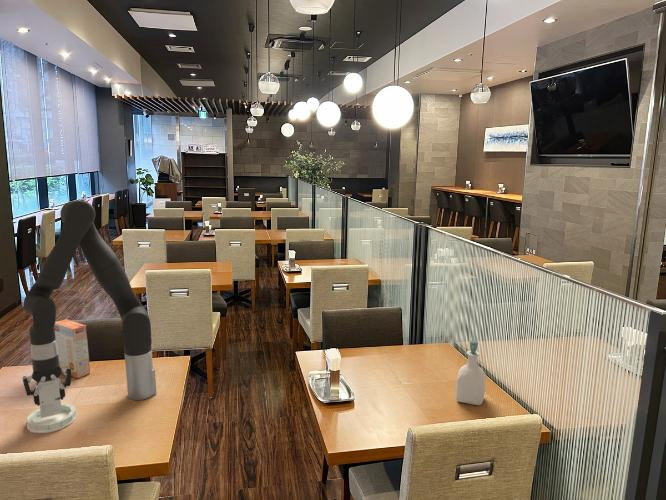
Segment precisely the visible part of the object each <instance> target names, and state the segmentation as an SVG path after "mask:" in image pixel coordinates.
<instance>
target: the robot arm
mask: <svg viewBox="0 0 666 500" xmlns="http://www.w3.org/2000/svg"><path fill="white" fill-rule="evenodd" d="M59 216H60V219H61V221H62V223H63V224H62V225H63V226H62V230H61V232H60V235H59V236H58V239H57V241H56V242H55V244H54V246H53V247H52V249H51V250H50V252H49V253H48V255H47V257H46V258H45V261H44V262H43V264H42V268H41V269H40V272H39V275H38V277H37V280H36V281H35V282H34V283H33V284H32V286H31V288H30V289H29V290H28V292H27V293H26V295H25V297H24V300H23V303H22V307H23V310H24V311H25V312H26V313H27V314H28V315H30V316H32V324H31V326H30V327H29V332H28V333H29V340H30V356H31V364H32V365H31V366H32V374H30V375H29V376H26V375H25V376H23V377H22V379H21V380H22V383H23V386H24V389H25V393H26V396H28V397H29V396H32V397H33V403H34V405H35V406H38V407H40V402H39V390H38V389H41V387H42V385H43V383H44V382H45V381H49V380H57V379H59V389H60V401H62V400H64V398H66V391H65V389H66V388H67V387H69V386H71V385H72V383H71V382H72V381H71V380H72V376H71V369H70V367H66V368H62V369H61V367H60V364H59V355H58V346H57V342H56V335H55V328H54V326H55V322H57V321H56V320H57V306H56V302H55V301H54V300H53V299H52V298H51V296H52V294H53V293H54V291H57V290H59V289H60V288H61V286H62V285H63V282H64V280H65V278H66V275H67V273H68V270H69V268H70V266H71V263H72V260H73V258H74V256H75V254H76V251H77V250H78V247H80V250H81V252H82V254H83V256H84V258H85V260H86V262H87V264H88V266H89V268H90V271H91V272H92V274H93V276H94V277H95V279H96V281H97V282H98V284H99V285H100V286H101V288H102V290H103V291H105V293H106V294H107V295H108V296H109V297H110V299H111V300H112V302H113V303H114V304H115V306H116V309H117V311H118V314H119V316H120V319H121V320H120V321H121V326H122V339H123V350H124V352H123V353H124V362H125V363H124V364H125V374H126V375H125V377H126V387H127V388H126V389H127V391H126V392H127V397H128V398H129V399H130V400H132V401H142V400H146V399H149V398H151V397H153V396H154V395H157V382H156V381H157V380H156V369H154V363H153V351H152V350H153V349H152V342H153V341H152V326H151V318H150V315H149V313H148V311H147V310H146V308H145V307H144V306H143V304H142V303H141V301H140V300H139V298H138V297H137V296H136V294H135V293H134V290H133V288H132V286H131V282H130V281H129V278H128V276H127V273H126V271H125V268H124V267H123V265H122V263H121V261H120V260H119V258H118V256H117V255H116V253H115V252H114V250H112V248H111V247H110V246H109V244H108V243H107V242H106V241H105V240H104V238H102V236H101V235H100V233H99V231H98V229H97V227H96V225H95V223H94V221H95V218H96V210H95V208H94V206H93V205H92V204H91V203H89V202H88V201H86V200H83V199H82V200H79V199H78V200H72V201H71V200H69V201H67V202H66V203H65V204H63V206H62V207H61V209H60V215H59ZM62 373H63V375H64V376H65V378H64V379H65V381H62V380H61V379H60V378H59V377H60V376H61V374H62ZM32 380H33V381H35V384H34V387H33V389H31V388H30V384H31V382H32ZM38 383H39V384H38Z"/></svg>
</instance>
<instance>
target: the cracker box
mask: <svg viewBox="0 0 666 500" xmlns="http://www.w3.org/2000/svg"><path fill="white" fill-rule="evenodd" d="M54 328H55V335H56V342H57V346H58V355H59V364H60V367H61V369H62V368H66V367H70V369H71V377H73V378H75V379H80V378H82V377H85V376H87V375H90V374H91V368H90V354H89V347H88V346H89V345H88V335H87V325H86V324H82V323H80V322H78V321H73V320H71V319H68V318H66V319H62V320H59V321H55V326H54Z"/></svg>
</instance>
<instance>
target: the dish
mask: <svg viewBox="0 0 666 500" xmlns="http://www.w3.org/2000/svg"><path fill="white" fill-rule="evenodd" d="M77 418H78V413H77V409H76V407H75V405H74V404H71V403H67V402H64V403H63V402H61V413H60V414H57V415H53V416H48V417H44V418H41V413H40V408H38V409H36V410H34V411H32V412H31V413H30V414H29V415H28V416H27V418H26V420H27V421H26V427H27V428H26V429H27V430H28V431H29V432H30V433H32V434H48V433H49V434H50V433H54V432H58V431H60V430H63V429H65V428H67V427H68V426H71V425H72V424H73V423H74V422H75V421H76V419H77Z"/></svg>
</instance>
